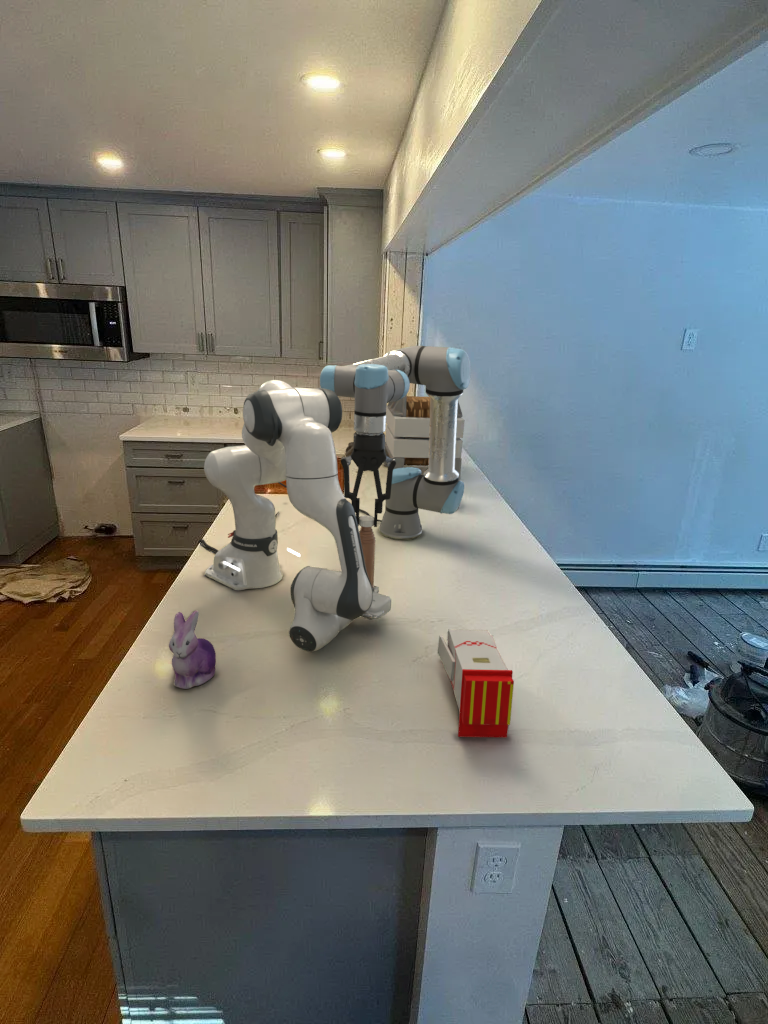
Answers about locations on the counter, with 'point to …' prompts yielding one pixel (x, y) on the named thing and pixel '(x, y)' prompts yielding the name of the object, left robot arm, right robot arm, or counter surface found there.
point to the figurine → (191, 653)
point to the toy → (478, 682)
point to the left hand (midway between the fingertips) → (365, 585)
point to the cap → (366, 521)
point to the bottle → (368, 550)
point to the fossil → (349, 449)
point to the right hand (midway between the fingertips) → (366, 524)
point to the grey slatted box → (414, 432)
